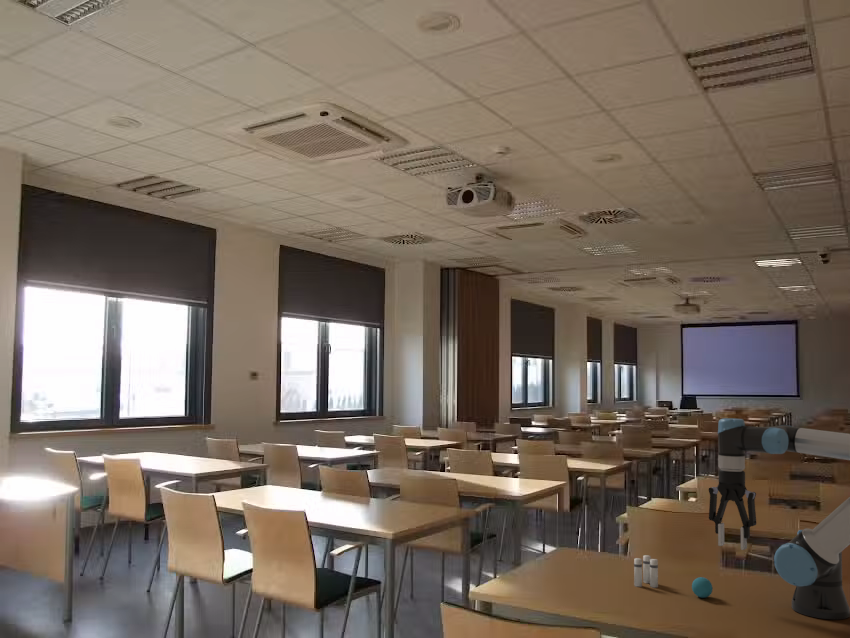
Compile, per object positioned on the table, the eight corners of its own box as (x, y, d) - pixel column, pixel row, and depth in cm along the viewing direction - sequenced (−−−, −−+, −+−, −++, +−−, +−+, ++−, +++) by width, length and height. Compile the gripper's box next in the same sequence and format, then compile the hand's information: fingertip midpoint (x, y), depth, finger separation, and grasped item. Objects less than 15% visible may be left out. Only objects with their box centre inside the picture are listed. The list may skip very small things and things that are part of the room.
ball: (716, 598, 233) (716, 578, 234) (702, 601, 230) (702, 581, 231) (701, 593, 238) (701, 574, 239) (687, 595, 236) (687, 576, 236)
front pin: (659, 587, 245) (659, 560, 246) (653, 587, 244) (653, 561, 244) (654, 585, 247) (654, 558, 248) (648, 585, 246) (648, 559, 247)
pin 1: (643, 586, 246) (643, 559, 246) (637, 587, 244) (637, 560, 245) (638, 584, 248) (638, 557, 248) (632, 585, 247) (632, 558, 247)
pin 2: (652, 582, 250) (652, 556, 250) (646, 583, 249) (646, 557, 249) (647, 580, 252) (647, 554, 253) (641, 581, 251) (641, 555, 252)
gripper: (768, 471, 227) (769, 550, 225) (706, 465, 240) (706, 539, 238) (759, 474, 221) (760, 554, 220) (695, 467, 235) (696, 543, 233)
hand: (732, 546), depth 229 cm, fingers open, 6 cm apart
